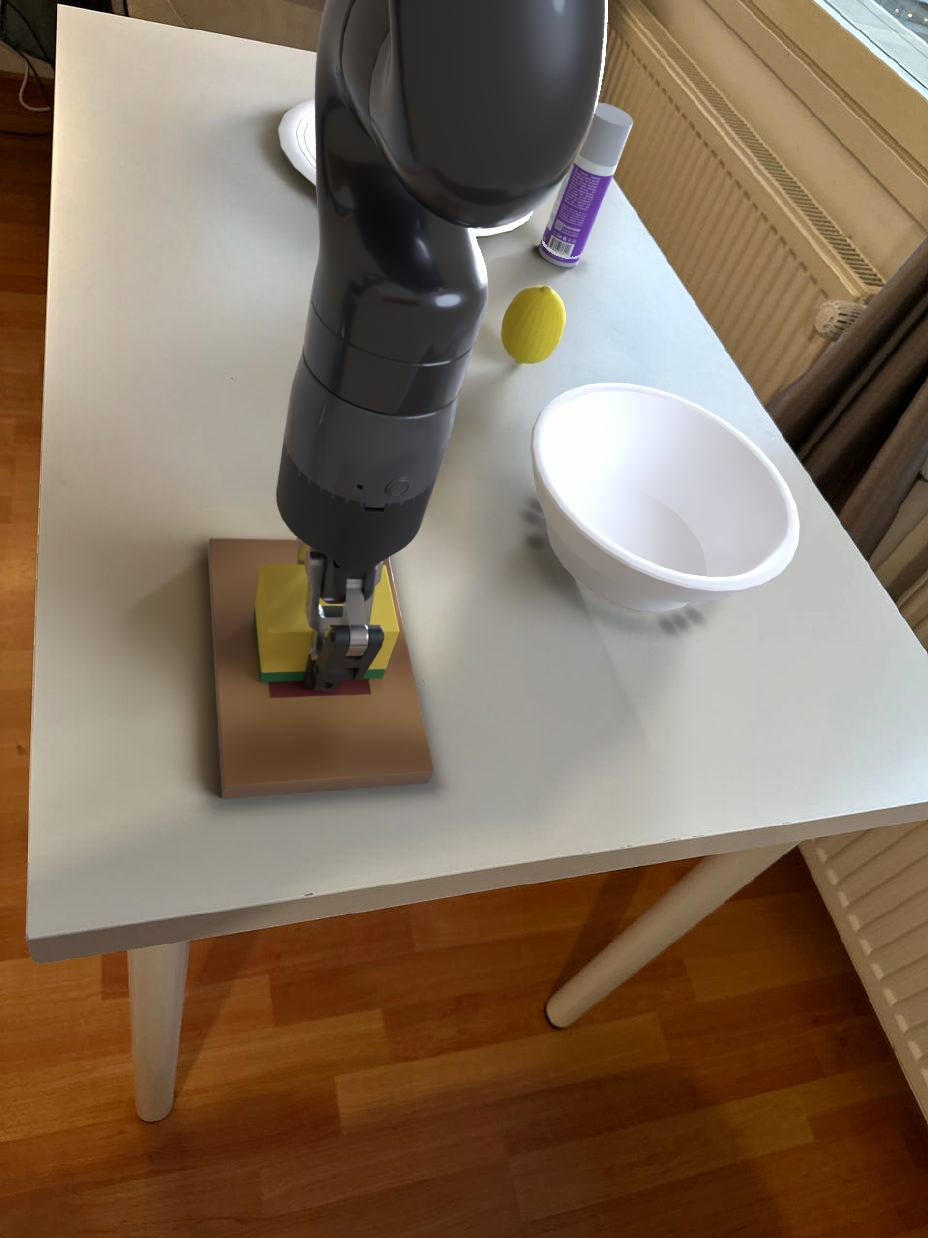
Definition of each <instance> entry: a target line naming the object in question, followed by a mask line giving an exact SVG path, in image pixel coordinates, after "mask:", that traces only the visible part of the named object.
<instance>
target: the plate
mask: <svg viewBox="0 0 928 1238" xmlns="http://www.w3.org/2000/svg"><path fill="white" fill-rule="evenodd" d="M277 128H278V129H277V134H278V139H279V144H280V149H281V151H282V152H283V154H284V156H285V157H286V158H287V160H288V162H289V163H290V165H291V166H292V167H293V169H294V170H295V171H296V172H297V173H298V174H300V175H301V176H302V177H303V178H304V179H305V180H306V181H308V182H309V183H310V184H311V185H312V186H313V187H314V188H316V156H315V97H314V98H311V99H308V100H305V101H302V102H299V103H296V105H294V106H293V107H292V108H290V109H289V110H287V112H285V113H284V114H283V116H282V119H281V121H280V123H279V126H278V127H277ZM533 213H534V212H531V213H530V214H528V215H527V216H525V217H523V218H521V219H519V220H517V221H515V222H513V223H510V224H508V225H504V226H500V227H496V228H489V229H473V231H474V234H475V237H476V239H478V238H479V239H480V238H481V239H482V238H491V237H494V236H499V235H502V234H508V233H511V232H513V231H515V230H517V229H518V228H519V227H521V226H523V225H524V224H526V223H527V222H529V220H530V218H531V217H530V216H532V215H533Z"/></svg>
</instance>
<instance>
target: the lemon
mask: <svg viewBox="0 0 928 1238" xmlns="http://www.w3.org/2000/svg"><path fill="white" fill-rule="evenodd" d="M565 307H566V306H565V304H564V301H563V299H562V298H561V296H560V295H559V294H558V293H557V292H556V291H555V290H554V289H552V287H551V286H550V285H532V286H527V287H525V288H523V289H522V290H521V291H519V292H518V293H516V295H515V296H514V297H513V299H512V300H511V301H510V303H509V304H508V307H507V309H506V310H505V311H504V315H503V317H502V321H501V328H500V336H501V343H502V346H503V348H504V350H505V352H506V353H507V354H508V356H510V357H511V358H512V359H513V360H515V362H516V363H517V364H518V365H524V364H527V365H530V364H531V365H533V364H538V363H540V362H543V361H545V360H546V359H548V358H549V357H550V356H551V355H552V354H553V353H554V352H555V351H556V349H557V348H558V346H559V344H560V343H561V340H562V338H563V335H564V331H565V326H566V319H567V314H566V313H567V312H566V308H565Z"/></svg>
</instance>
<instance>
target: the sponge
mask: <svg viewBox="0 0 928 1238" xmlns="http://www.w3.org/2000/svg"><path fill="white" fill-rule="evenodd" d="M307 585H308V578H307V575H306V571H305V566H304V565H303V564H261V565H260V573H259V580H258V587H257V594H256V601H255V608H254V626H255V637H256V648H257V659H258V669H259V680H260V682H282V681H304V674H305V669H306V665H307V661H308V656H309V645H311V635H312V628H310V627H309V625H308V621H307V617H306V613H305V605H306V595H307ZM319 605H322V606H343V604H328V603H326V602H324V601H323V600H322V599H321V598H320V604H319ZM369 624H374V625H381V626H382V630H383V632H384V641H383V645H382V648H381V649H380V651H379V653H378V654H377V656H376V657H375V659H374V661H373V662H372V664H371V665H370V667H369V669H368V670H367V672H366V673H365V675H364V677H363V678H362V679H372V678H383V676H384V673H385V670H386V667H387V664H388V661H389V658H390V656H391V653H392V650H393V647H394V644H395V642H396V639H397V636H398V633H399V627H398V622H397V617H396V613H395V608H394V603H393V598H392V593H391V588H390V584H389V579H388V574H387V569H386V566H385V565H383V568H382V575H381V580H380V582H379V583H378V584H377V585H376V586H375V591H374V598H373V605H372V612H371V619H370V623H369ZM327 636H328V631H327V630H326V631H325V634H324V638H327Z"/></svg>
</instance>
